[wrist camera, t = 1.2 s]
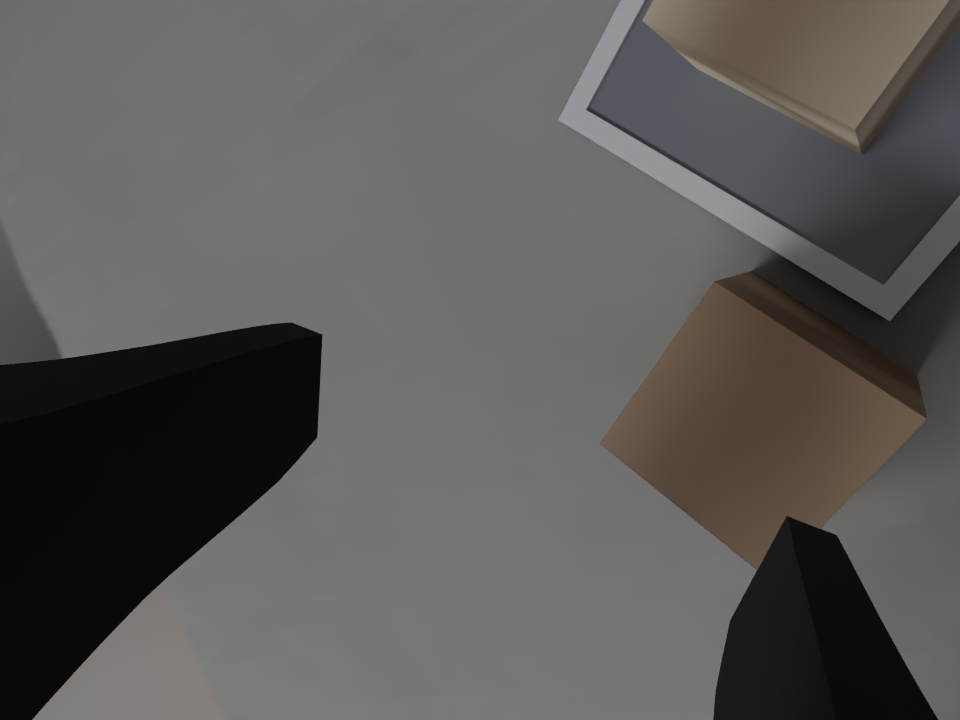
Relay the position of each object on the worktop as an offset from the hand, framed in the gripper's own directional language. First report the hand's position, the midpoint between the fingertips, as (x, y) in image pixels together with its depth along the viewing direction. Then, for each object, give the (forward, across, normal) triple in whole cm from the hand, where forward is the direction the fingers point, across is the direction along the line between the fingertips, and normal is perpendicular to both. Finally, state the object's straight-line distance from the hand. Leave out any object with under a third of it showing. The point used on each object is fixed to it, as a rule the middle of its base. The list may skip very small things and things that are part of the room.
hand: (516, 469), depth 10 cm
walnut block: (+10, -4, +2) cm, 11 cm away
